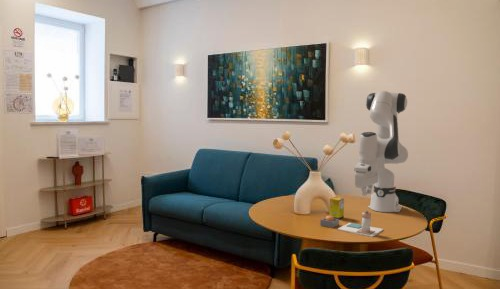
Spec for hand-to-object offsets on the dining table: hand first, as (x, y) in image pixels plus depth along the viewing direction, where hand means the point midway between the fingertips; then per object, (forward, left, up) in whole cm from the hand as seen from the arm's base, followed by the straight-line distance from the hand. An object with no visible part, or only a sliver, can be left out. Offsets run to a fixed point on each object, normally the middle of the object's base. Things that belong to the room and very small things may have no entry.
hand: (366, 194), depth 192 cm
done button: (-1, -20, -18) cm, 27 cm away
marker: (0, 0, -18) cm, 18 cm away
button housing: (-1, -20, -19) cm, 28 cm away
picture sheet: (-3, -4, -19) cm, 20 cm away
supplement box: (-17, -24, -19) cm, 35 cm away
